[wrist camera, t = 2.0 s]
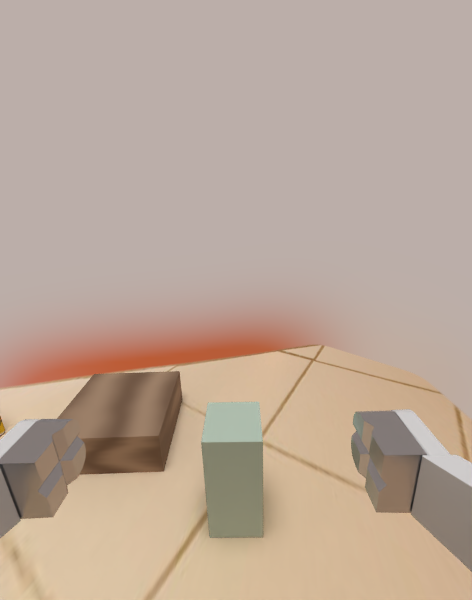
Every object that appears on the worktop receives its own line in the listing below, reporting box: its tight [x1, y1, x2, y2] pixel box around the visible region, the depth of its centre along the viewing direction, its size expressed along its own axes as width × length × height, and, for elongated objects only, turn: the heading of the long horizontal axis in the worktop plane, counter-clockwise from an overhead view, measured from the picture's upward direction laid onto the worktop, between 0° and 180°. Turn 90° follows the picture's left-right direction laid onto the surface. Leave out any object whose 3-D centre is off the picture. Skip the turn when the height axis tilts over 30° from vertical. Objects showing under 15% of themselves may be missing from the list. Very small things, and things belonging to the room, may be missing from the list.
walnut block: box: [57, 371, 182, 474], centre depth 35 cm, size 12×12×5 cm
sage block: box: [201, 402, 263, 538], centre depth 25 cm, size 4×4×10 cm
